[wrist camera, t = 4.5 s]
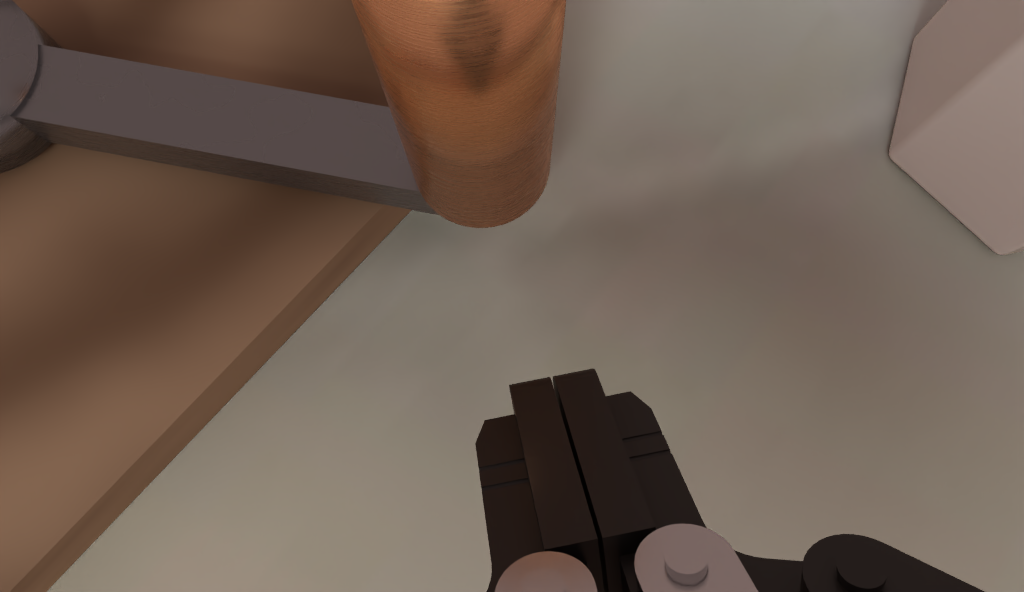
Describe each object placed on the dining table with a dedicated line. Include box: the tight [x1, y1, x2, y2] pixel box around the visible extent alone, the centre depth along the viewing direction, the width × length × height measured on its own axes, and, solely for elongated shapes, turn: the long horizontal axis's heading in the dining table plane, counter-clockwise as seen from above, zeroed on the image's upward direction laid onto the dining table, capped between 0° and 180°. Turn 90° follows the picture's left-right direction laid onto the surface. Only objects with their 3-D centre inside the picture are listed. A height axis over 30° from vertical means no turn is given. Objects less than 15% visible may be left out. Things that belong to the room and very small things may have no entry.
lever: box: [0, 0, 566, 228], centre depth 16 cm, size 19×5×12 cm, turn 79°
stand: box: [0, 0, 411, 592], centre depth 24 cm, size 22×27×2 cm
